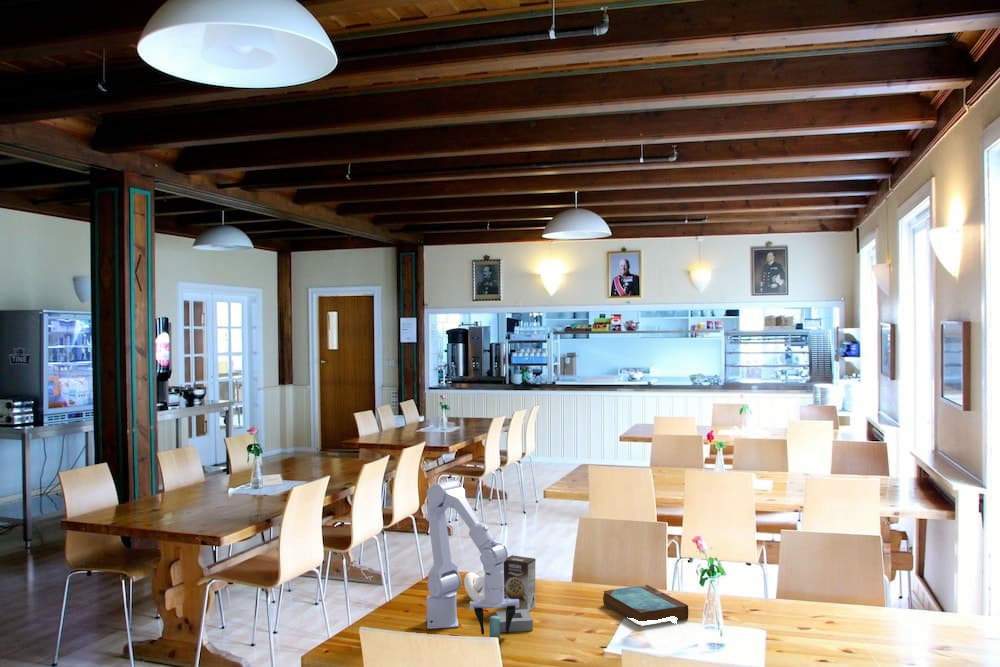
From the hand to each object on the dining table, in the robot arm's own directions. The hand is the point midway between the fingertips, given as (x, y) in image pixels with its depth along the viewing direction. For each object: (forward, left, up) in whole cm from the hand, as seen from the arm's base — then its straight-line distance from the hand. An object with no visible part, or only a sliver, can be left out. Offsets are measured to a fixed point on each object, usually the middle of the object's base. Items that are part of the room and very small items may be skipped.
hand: (494, 632), depth 230 cm
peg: (0, 0, -2) cm, 2 cm away
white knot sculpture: (-1, +37, -2) cm, 37 cm away
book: (+50, +15, -2) cm, 52 cm away
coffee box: (+11, +25, -2) cm, 27 cm away
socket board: (+7, +10, -2) cm, 12 cm away
